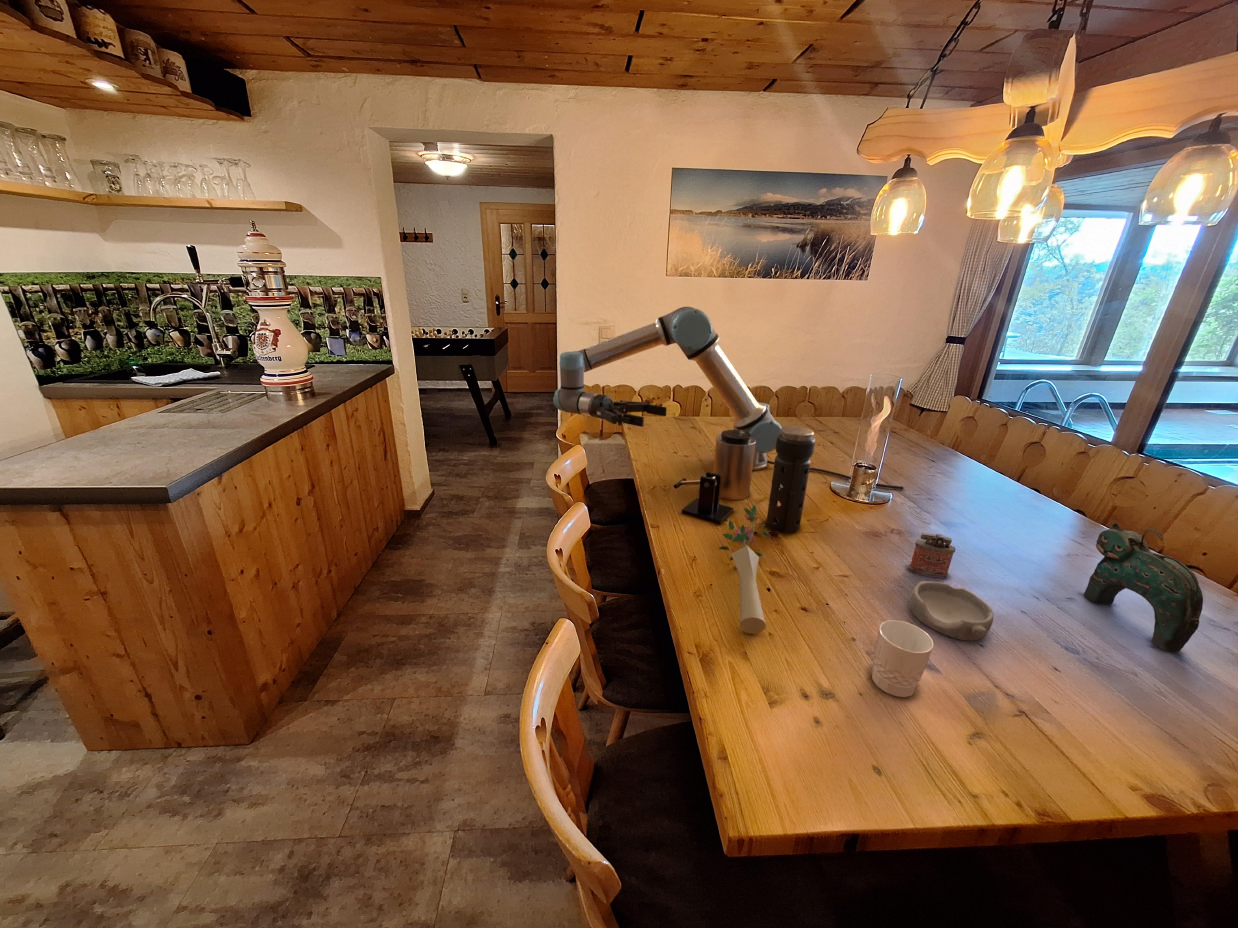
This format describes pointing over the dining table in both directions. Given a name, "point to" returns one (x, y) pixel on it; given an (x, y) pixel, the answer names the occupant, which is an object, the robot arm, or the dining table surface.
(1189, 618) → the ceramic cat
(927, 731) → the dining table surface
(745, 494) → the metal tumbler
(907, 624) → the white cup
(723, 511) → the switch base
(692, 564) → the dining table surface
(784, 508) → the muzzle brake
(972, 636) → the dish
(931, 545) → the lighter
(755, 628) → the flower vase
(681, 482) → the switch lever
